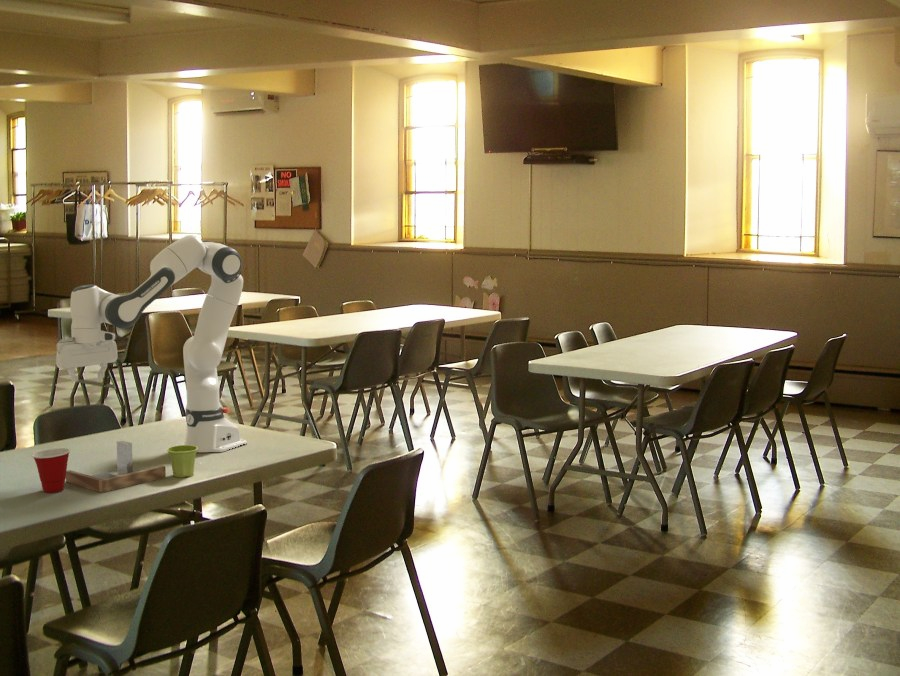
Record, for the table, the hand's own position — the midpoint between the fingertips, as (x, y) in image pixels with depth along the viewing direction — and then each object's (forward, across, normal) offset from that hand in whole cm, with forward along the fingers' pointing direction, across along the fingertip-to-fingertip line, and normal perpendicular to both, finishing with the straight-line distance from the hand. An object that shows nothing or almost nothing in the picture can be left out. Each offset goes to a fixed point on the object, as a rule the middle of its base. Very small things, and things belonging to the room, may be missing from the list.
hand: (88, 379), depth 342 cm
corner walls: (+29, -2, -17) cm, 34 cm away
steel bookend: (+29, -2, -18) cm, 34 cm away
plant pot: (+29, +14, -29) cm, 43 cm away
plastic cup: (+29, -22, -13) cm, 39 cm away
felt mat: (+29, -2, -16) cm, 33 cm away
